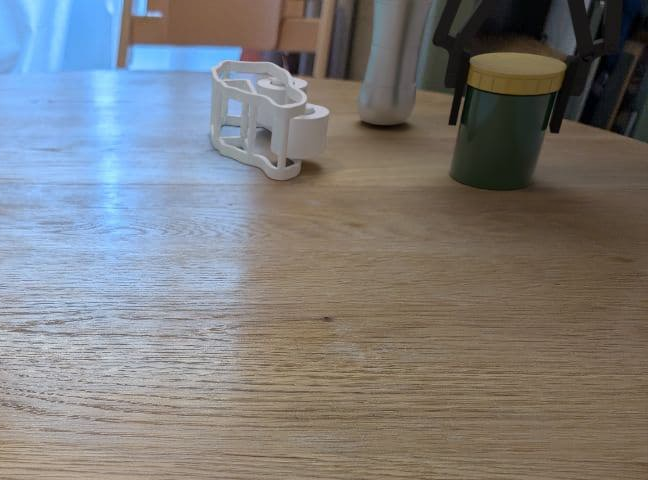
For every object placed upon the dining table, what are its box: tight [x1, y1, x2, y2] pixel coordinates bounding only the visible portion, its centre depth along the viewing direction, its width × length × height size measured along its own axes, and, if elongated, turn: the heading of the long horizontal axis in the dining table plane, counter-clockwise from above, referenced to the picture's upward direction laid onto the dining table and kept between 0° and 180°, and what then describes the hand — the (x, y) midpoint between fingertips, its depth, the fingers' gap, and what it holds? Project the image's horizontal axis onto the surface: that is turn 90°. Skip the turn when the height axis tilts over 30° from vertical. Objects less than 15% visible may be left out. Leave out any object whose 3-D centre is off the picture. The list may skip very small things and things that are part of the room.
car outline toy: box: [209, 59, 330, 181], centre depth 93 cm, size 20×11×7 cm, turn 1°
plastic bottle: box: [356, 0, 433, 126], centre depth 96 cm, size 6×7×20 cm
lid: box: [465, 52, 567, 95], centre depth 81 cm, size 9×9×2 cm
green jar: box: [448, 83, 558, 191], centre depth 84 cm, size 8×8×10 cm
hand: (502, 125), depth 84 cm, fingers closed on lid, 9 cm apart
